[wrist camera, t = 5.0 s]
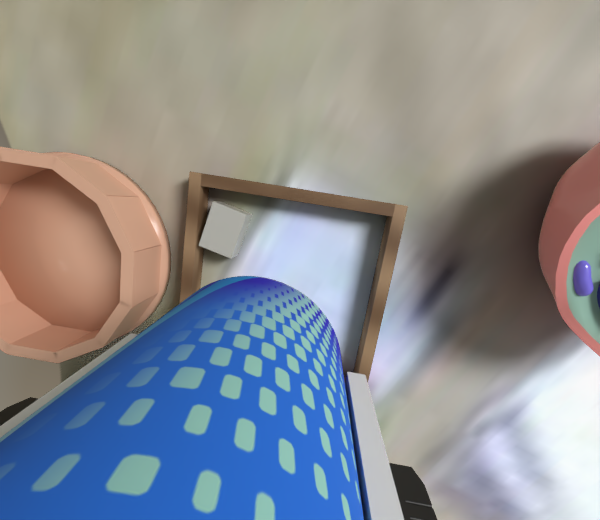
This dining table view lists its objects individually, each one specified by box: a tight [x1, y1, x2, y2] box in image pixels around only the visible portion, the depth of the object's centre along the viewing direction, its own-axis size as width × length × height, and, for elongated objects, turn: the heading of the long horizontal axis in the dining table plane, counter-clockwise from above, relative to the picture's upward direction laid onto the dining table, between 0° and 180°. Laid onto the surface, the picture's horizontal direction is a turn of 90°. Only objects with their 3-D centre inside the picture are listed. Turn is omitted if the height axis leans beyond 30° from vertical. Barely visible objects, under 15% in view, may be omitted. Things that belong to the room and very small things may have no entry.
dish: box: [0, 147, 171, 363], centre depth 25 cm, size 18×18×5 cm
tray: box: [179, 172, 408, 382], centre depth 26 cm, size 18×18×2 cm
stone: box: [199, 201, 253, 258], centre depth 26 cm, size 4×3×2 cm
